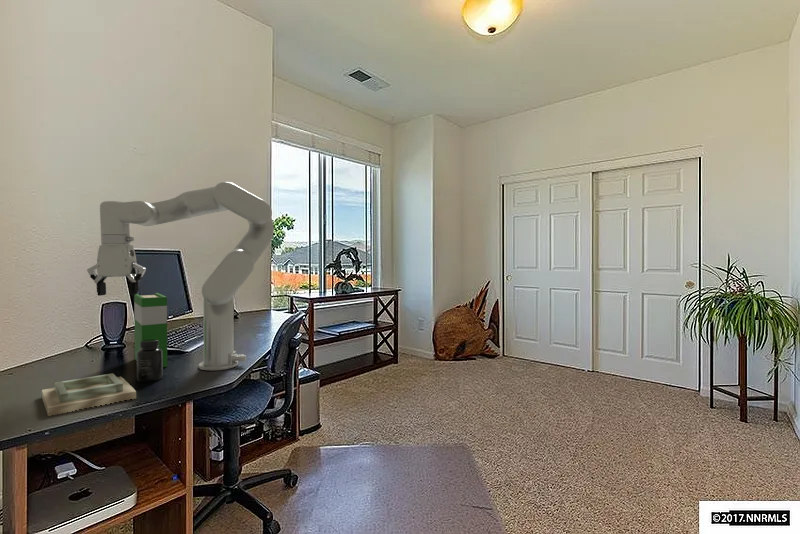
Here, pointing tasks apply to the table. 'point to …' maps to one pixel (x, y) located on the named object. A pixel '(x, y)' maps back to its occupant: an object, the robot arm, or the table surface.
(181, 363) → the table surface
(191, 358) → the table surface
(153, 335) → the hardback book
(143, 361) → the supplement bottle
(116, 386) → the socket board
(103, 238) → the robot arm
